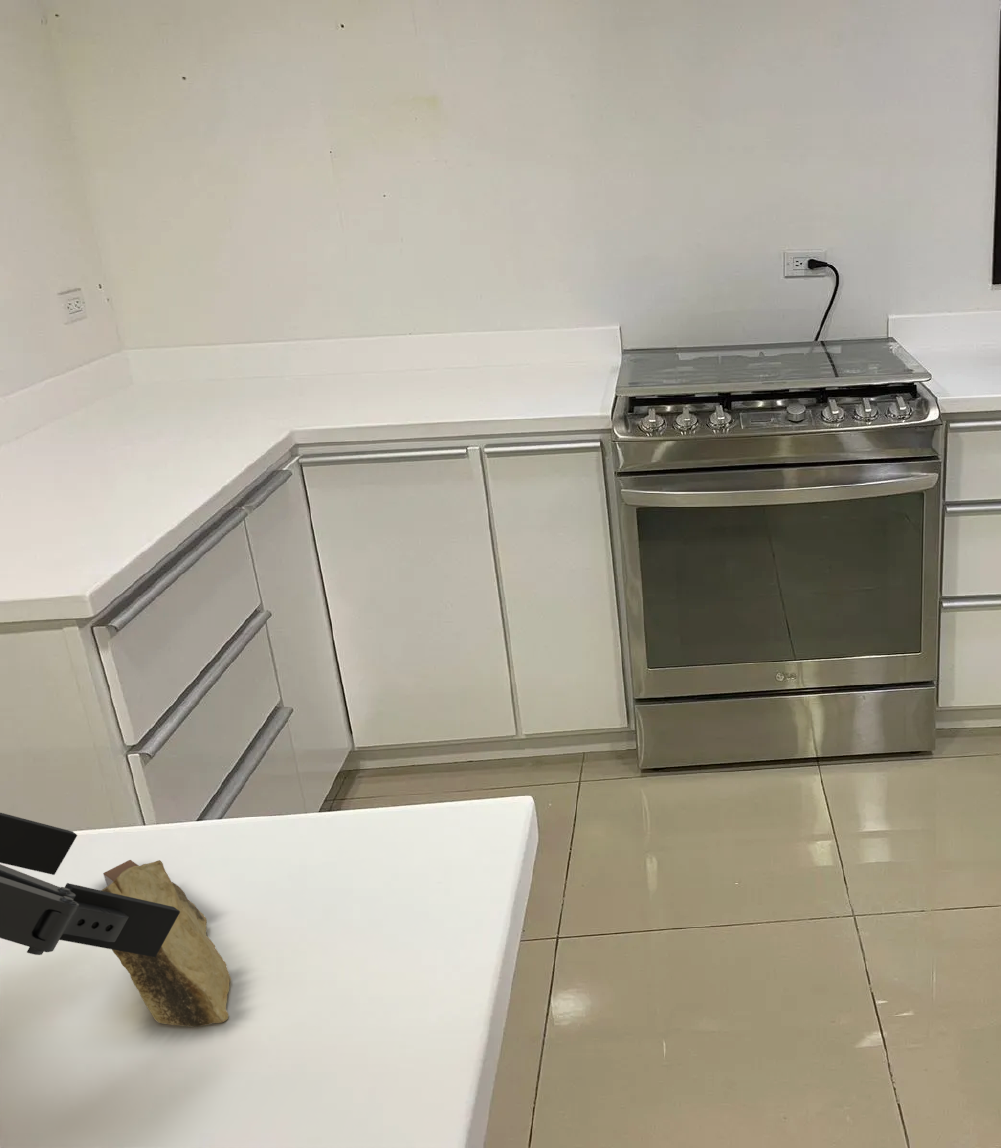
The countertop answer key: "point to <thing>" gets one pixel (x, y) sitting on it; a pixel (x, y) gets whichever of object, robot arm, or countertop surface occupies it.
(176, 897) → the rock
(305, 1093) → the countertop surface
